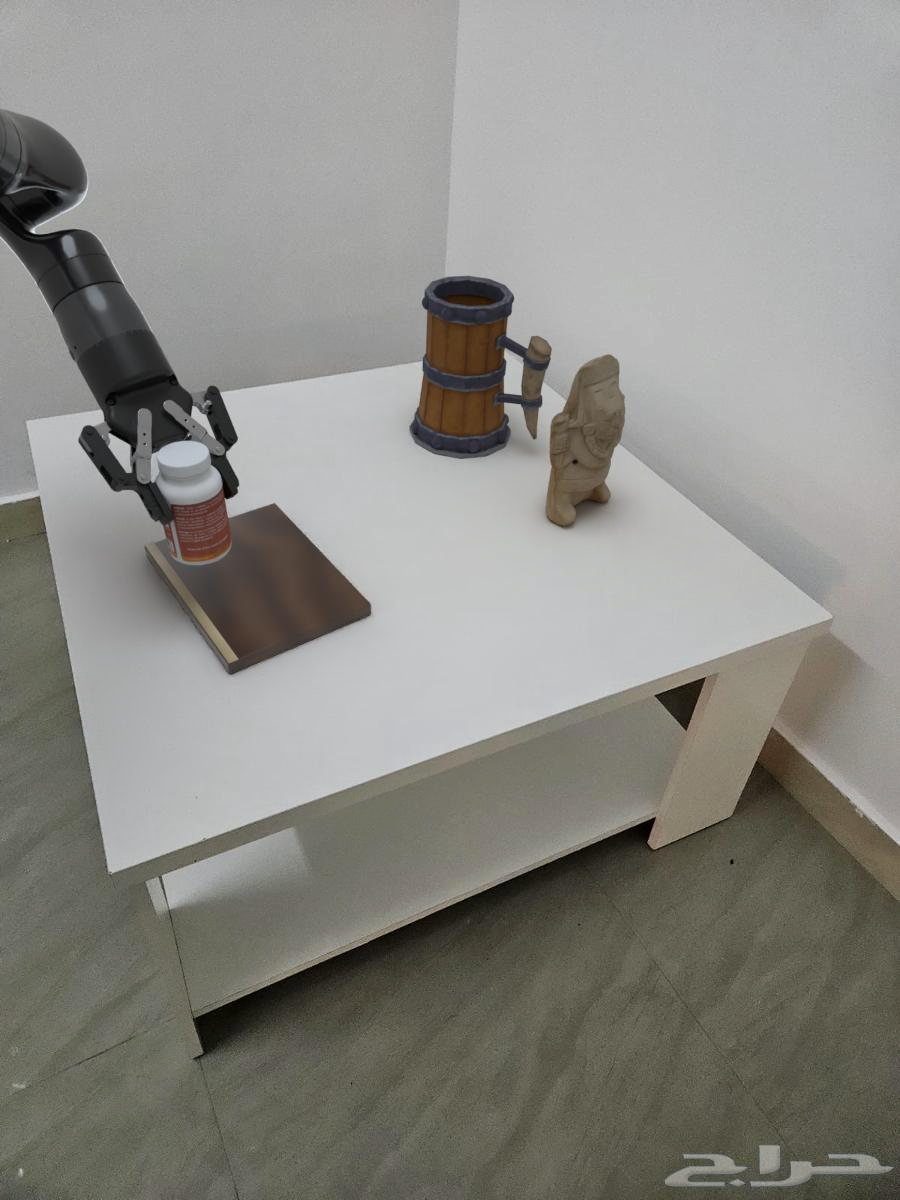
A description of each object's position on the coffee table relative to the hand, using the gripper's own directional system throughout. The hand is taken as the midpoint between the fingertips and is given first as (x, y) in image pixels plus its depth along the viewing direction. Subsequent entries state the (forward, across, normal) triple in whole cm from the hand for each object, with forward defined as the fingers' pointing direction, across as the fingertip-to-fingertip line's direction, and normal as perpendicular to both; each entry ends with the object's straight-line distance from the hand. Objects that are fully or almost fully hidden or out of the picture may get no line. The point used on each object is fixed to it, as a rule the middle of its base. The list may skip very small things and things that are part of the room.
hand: (201, 508), depth 77 cm
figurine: (+18, +44, 0) cm, 47 cm away
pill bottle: (+3, 0, +5) cm, 6 cm away
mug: (+3, +46, +15) cm, 49 cm away
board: (+8, +5, +10) cm, 14 cm away
